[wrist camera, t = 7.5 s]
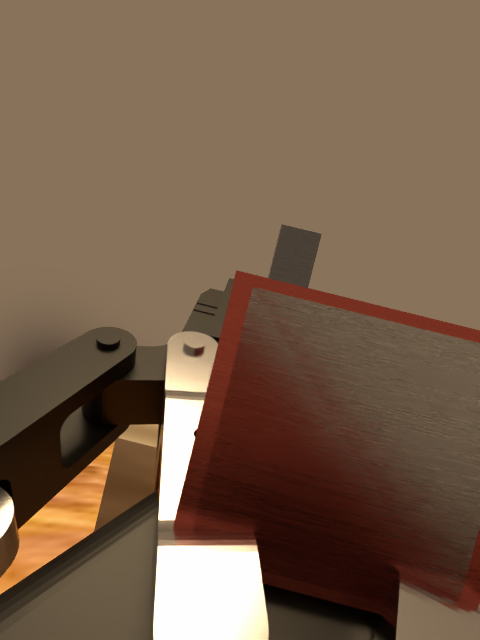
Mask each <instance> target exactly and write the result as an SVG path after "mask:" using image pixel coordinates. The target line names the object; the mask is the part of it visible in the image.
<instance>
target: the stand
mask: <svg viewBox="0 0 480 640" xmlns="http://www.w3.org/2000/svg"><path fill="white" fill-rule="evenodd" d="M157 435H158V424H146V425H130V426H129V427H128V429H127V430H126V431H125V432H124V433H123V434H122V435H120V436H119V437H118V438H117V439H116V441H115V445H114V449H113V454H112V458H111V462H110V466H109V471H108V475H107V479H106V483H105V487H104V492H103V496H102V500H101V504H100V509H99V513H98V517H97V521H96V526H95V530H94V532H95V531H96V530H98V529H99V528H101V527H102V526H104V525H105V524H107V523H108V522H110V521H111V520H112V519H114V518H115V517H117V516H118V515H120V514H121V513H123V512H124V511H126V510H127V509H129V508H130V507H132V506H133V505H135V504H136V503H138V502H139V501H141V500H142V499H144V498H145V497H147V496H148V495H150V494H151V493H153V484H154V474H155V461H156V448H157Z"/></svg>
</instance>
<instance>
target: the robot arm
mask: <svg viewBox="0 0 480 640" xmlns="http://www.w3.org/2000/svg"><path fill="white" fill-rule="evenodd" d="M233 282H234V279H229V281H228V283H227V286H226V288H225V291H224V292H223V291H219V290H215V289H209V290H207V291H206V292H204V293H202V294H201V296H200V297H199V299H198V301H197V304H196V305H195V307H194V309H193V311H192V313H191V315H190V317H189V320H188V321H187V323H186V325H185V327H184V329H183V331H182V332H180V333H177V334H175V335H174V336H172V337H171V338H170V340H169V341H168V344H167V345H164V346H156V347H149V346H148V347H147V346H137V342H136V339H135V337H134V336H133V335H132V334H131V333H129V332H127V331H125V330H123V329H120V328H115V327H102V328H96V329H93V330H90V331H88V332H86V333H85V334H83V335H81V336H79V337H78V338H76V339H74V340H73V341H71V342H69V343H67V344H65V345H64V346H62V347H60V348H58V349H57V350H55V351H53V352H52V353H50V354H48V355H46V356H44V357H42V358H41V359H39V360H37V361H35V362H34V363H32V364H30V365H28V366H27V367H25V368H23V369H21V370H20V371H18V372H16V373H15V374H13V375H11V376H9V377H7V378H6V379H4V380H2V381H0V578H1V576H2V575H3V574H4V573H5V571H6V570H7V569H8V568H9V567H10V565H11V564H12V562H13V560H14V559H15V556H16V554H17V552H18V548H19V533H18V529H19V528H20V527H21V526H23V525H24V524H25V523H26V522H27V521H28V520H29V519H30V518H31V517H32V516H33V515H34V514H36V513H37V512H38V511H39V510H40V509H41V508H42V507H43V506H44V505H45V504H46V503H48V502H49V501H50V500H51V499H52V498H53V497H54V496H55V495H56V494H57V493H58V492H60V491H61V490H62V489H63V488H64V487H65V486H66V485H67V484H68V483H69V482H70V481H71V480H73V479H74V478H75V477H76V476H77V475H78V474H79V473H80V472H81V471H82V470H83V469H85V468H86V467H87V466H88V465H89V464H90V463H91V462H92V461H93V460H94V459H95V458H97V457H98V456H99V455H100V454H101V453H102V452H103V451H104V450H105V449H106V448H107V447H108V446H110V445H111V444H112V443H113V442H114V441H115V440H116V439H117V438H118V437H119V436H120V435H122V434H123V433H124V432H125V431H126V430H127V429H128V427H129V426H130V425H146V424H158V435H157V448H156V461H155V474H154V484H153V493H151V494H150V495H148V496H147V497H145V498H144V499H142V500H141V501H139V502H138V503H136V504H135V505H133V506H132V507H130V508H129V509H127V510H126V511H124V512H123V513H121V514H120V515H118V516H117V517H115V518H114V519H112V520H111V521H110V522H108V523H107V524H105V525H104V526H102V527H101V528H99V529H98V530H96V531H95V532H93V533H92V534H90V535H89V536H87V537H86V538H84V539H83V540H81V541H80V542H78V543H77V544H75V545H74V546H72V547H71V548H69V549H68V550H66V551H65V552H63V553H62V554H60V555H59V556H57V557H56V558H54V559H53V560H51V561H50V562H48V563H47V564H45V565H44V566H42V567H41V568H39V569H38V570H36V571H35V572H33V573H32V574H30V575H29V576H27V577H26V578H25V579H23V580H22V581H20V582H19V583H17V584H16V585H14V586H13V587H11V588H10V589H8V590H7V591H5V592H4V593H2V594H1V595H0V640H480V604H479V605H477V604H474V603H472V602H469V601H466V600H464V599H462V598H459V597H457V596H454V595H452V594H450V593H447V592H445V591H443V590H441V589H439V588H436V587H434V586H432V585H430V584H427V583H425V582H423V581H421V580H419V579H416V578H414V577H412V576H410V575H407V574H405V573H402V572H400V571H398V573H397V576H396V578H395V581H394V583H393V585H392V588H391V590H390V593H389V595H388V597H387V600H386V602H385V605H384V607H383V609H382V612H381V614H377V613H373V612H369V611H366V610H362V609H358V608H354V607H351V606H347V605H343V604H339V603H335V602H332V601H328V600H324V599H320V598H317V597H313V596H309V595H305V594H301V593H298V592H294V591H290V590H286V589H283V588H279V587H275V586H271V585H267V584H264V583H262V576H261V569H260V562H259V555H258V548H257V543H256V539H255V535H254V533H246V532H236V531H224V530H212V529H200V528H190V527H182V526H175V525H174V521H175V516H176V512H177V508H178V504H179V500H180V496H181V492H182V488H183V484H184V480H185V476H186V472H187V468H188V464H189V460H190V456H191V452H192V448H193V444H194V440H195V436H196V432H197V428H198V424H199V420H200V416H201V412H202V407H203V403H204V399H205V395H206V391H207V387H208V383H209V379H210V375H211V371H212V367H213V363H214V359H215V355H216V351H217V347H218V343H219V339H220V335H221V331H222V327H223V323H224V319H225V315H226V311H227V307H228V303H229V299H230V294H231V290H232V286H233Z"/></svg>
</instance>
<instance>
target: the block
mask: <svg viewBox="0 0 480 640" xmlns="http://www.w3.org/2000/svg"><path fill="white" fill-rule="evenodd" d="M320 238H321V234H319V233H315V232H311V231H307V230H302V229H298V228H294V227H290V226H286V225H282V226H281V228H280V231H279V235H278V239H277V243H276V247H275V251H274V256H273V259H272V263H271V268H270V271H269V275H268V278H265V277H261V276H257V275H252V274H249V273H244V272H240V271H236V274H235V278H234V282H233V286H232V290H231V294H230V299H229V303H228V307H227V311H226V315H225V319H224V323H223V327H222V331H221V335H220V339H219V343H218V347H217V351H216V355H215V359H214V363H213V367H212V371H211V375H210V379H209V383H208V387H207V391H206V395H205V399H204V403H203V407H202V412H201V416H200V420H199V424H198V428H197V432H196V436H195V440H194V444H193V448H192V452H191V456H190V460H189V464H188V468H187V472H186V476H185V480H184V484H183V488H182V492H181V496H180V500H179V504H178V508H177V512H176V516H175V521H174V525H175V526H182V527H190V528H200V529H212V530H224V531H236V532H246V533H254V535H255V539H256V543H257V548H258V555H259V562H260V569H261V576H262V583H264V584H267V585H271V586H275V587H279V588H283V589H286V590H290V591H294V592H298V593H301V594H305V595H309V596H313V597H317V598H320V599H324V600H328V601H332V602H335V603H339V604H343V605H347V606H351V607H354V608H358V609H362V610H366V611H369V612H373V613H377V614H381V612H382V609H383V607H384V605H385V602H386V600H387V597H388V595H389V593H390V590H391V588H392V585H393V583H394V581H395V578H396V576H397V573H398V571H400V572H402V573H405V574H407V575H410V576H412V577H414V578H416V579H419V580H421V581H423V582H425V583H427V584H430V585H432V586H434V587H436V588H439V589H441V590H443V591H445V592H447V593H450V594H452V595H454V596H457V597H459V598H462V599H464V600H466V601H469V602H472V603H474V604H477V605H479V604H480V331H479V330H475V329H471V328H467V327H463V326H459V325H455V324H451V323H447V322H443V321H439V320H435V319H430V318H427V317H423V316H419V315H415V314H410V313H407V312H402V311H398V310H394V309H390V308H386V307H382V306H378V305H374V304H370V303H366V302H362V301H358V300H354V299H350V298H346V297H341V296H338V295H334V294H330V293H325V292H321V291H317V290H313V289H309V288H308V285H309V281H310V277H311V273H312V269H313V265H314V262H315V258H316V253H317V250H318V246H319V242H320Z"/></svg>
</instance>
